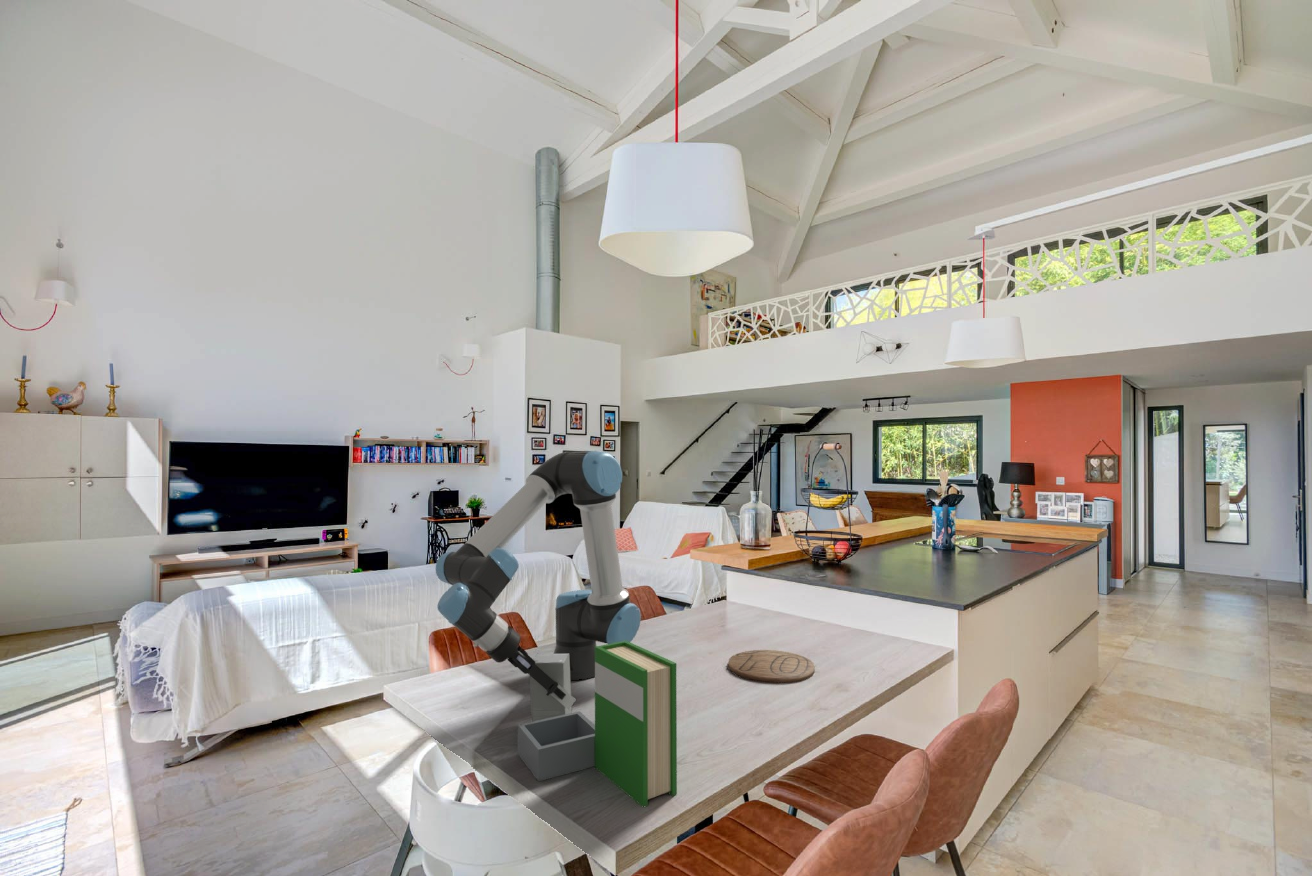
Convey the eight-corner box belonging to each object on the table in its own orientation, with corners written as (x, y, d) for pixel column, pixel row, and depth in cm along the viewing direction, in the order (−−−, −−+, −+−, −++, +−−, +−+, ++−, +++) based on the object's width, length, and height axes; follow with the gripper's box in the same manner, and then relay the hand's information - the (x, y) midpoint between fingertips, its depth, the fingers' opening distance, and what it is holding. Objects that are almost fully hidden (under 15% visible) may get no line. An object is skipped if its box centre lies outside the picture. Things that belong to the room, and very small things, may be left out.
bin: (517, 753, 132) (517, 724, 132) (579, 738, 139) (579, 711, 139) (538, 781, 120) (538, 749, 120) (604, 763, 127) (604, 733, 127)
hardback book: (676, 794, 116) (676, 663, 116) (643, 807, 111) (643, 671, 112) (626, 757, 130) (626, 640, 131) (594, 767, 126) (594, 646, 127)
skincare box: (572, 719, 149) (572, 652, 149) (564, 732, 142) (565, 661, 142) (537, 717, 150) (537, 651, 150) (528, 730, 143) (528, 660, 143)
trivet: (720, 679, 176) (720, 672, 176) (736, 653, 200) (736, 647, 200) (812, 688, 169) (812, 681, 169) (816, 660, 193) (816, 654, 193)
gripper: (473, 639, 148) (537, 695, 156) (498, 666, 129) (570, 728, 136) (495, 614, 151) (557, 669, 158) (524, 637, 132) (592, 698, 139)
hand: (563, 696), depth 147 cm, fingers closed on skincare box, 9 cm apart
